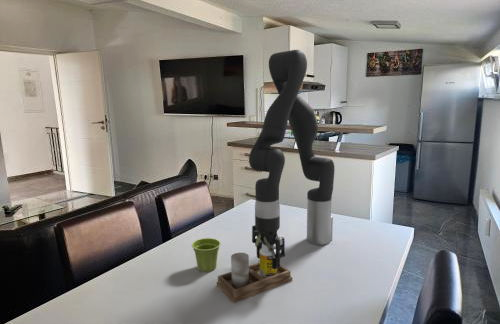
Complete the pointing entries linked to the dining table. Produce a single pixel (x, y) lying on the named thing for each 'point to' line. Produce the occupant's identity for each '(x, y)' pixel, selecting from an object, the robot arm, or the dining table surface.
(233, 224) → the dining table surface
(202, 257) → the plant pot
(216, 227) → the dining table surface
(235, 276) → the caddy
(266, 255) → the supplement bottle
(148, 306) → the dining table surface
